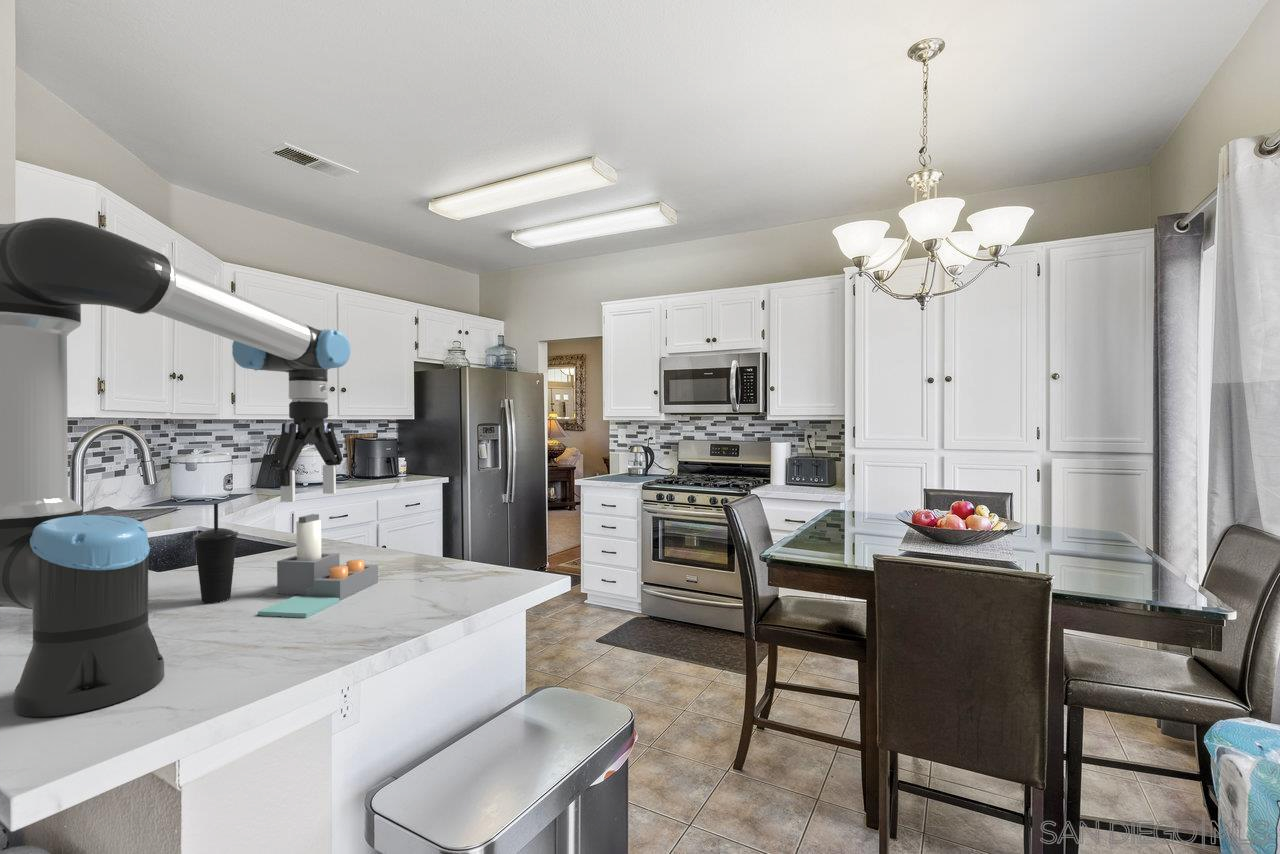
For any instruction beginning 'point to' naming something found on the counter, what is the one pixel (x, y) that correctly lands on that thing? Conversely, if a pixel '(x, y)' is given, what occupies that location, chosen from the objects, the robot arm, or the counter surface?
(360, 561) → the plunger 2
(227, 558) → the drinking cup
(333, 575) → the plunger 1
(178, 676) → the counter surface
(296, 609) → the mat
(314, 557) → the cylinder
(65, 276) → the robot arm
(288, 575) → the grey stepped holder
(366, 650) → the counter surface
